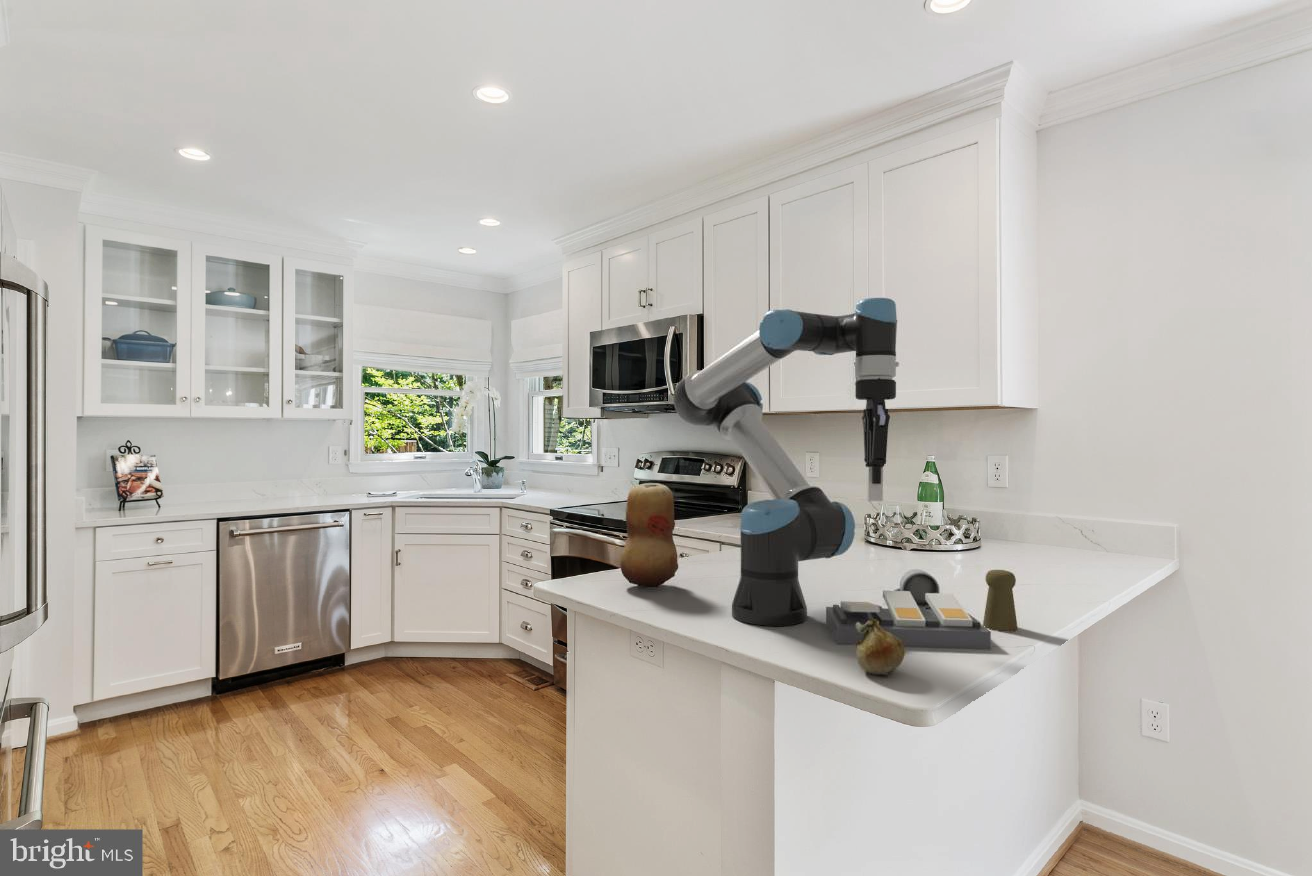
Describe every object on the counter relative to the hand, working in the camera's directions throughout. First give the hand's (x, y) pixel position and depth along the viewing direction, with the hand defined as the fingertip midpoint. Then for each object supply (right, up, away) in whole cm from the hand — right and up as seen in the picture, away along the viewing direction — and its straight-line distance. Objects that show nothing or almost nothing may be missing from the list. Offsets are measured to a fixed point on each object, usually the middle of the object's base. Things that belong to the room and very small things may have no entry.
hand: (874, 500), depth 133 cm
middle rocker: (+3, -19, -6) cm, 21 cm away
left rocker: (-5, -19, -5) cm, 21 cm away
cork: (+24, -25, -1) cm, 34 cm away
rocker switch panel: (+3, -24, -6) cm, 25 cm away
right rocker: (+11, -20, -7) cm, 23 cm away
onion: (-8, -25, -26) cm, 37 cm away
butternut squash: (-44, -24, +32) cm, 60 cm away
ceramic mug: (+13, -25, +16) cm, 32 cm away
